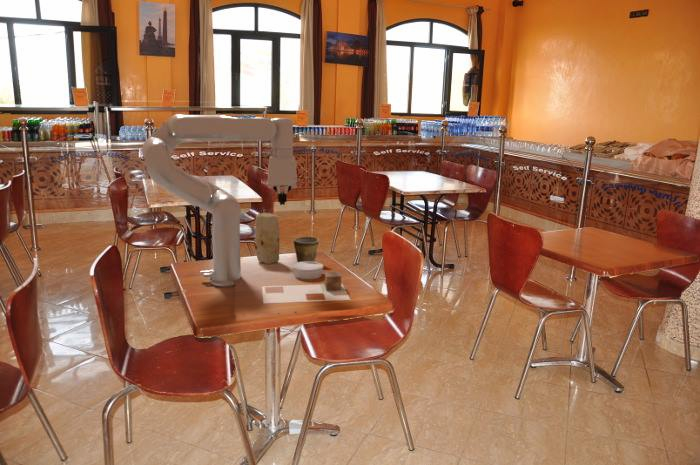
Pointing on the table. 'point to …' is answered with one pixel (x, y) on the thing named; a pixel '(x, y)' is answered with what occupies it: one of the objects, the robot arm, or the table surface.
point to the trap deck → (303, 294)
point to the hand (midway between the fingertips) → (282, 204)
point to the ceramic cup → (306, 248)
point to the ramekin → (307, 270)
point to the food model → (267, 237)
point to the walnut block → (332, 281)
